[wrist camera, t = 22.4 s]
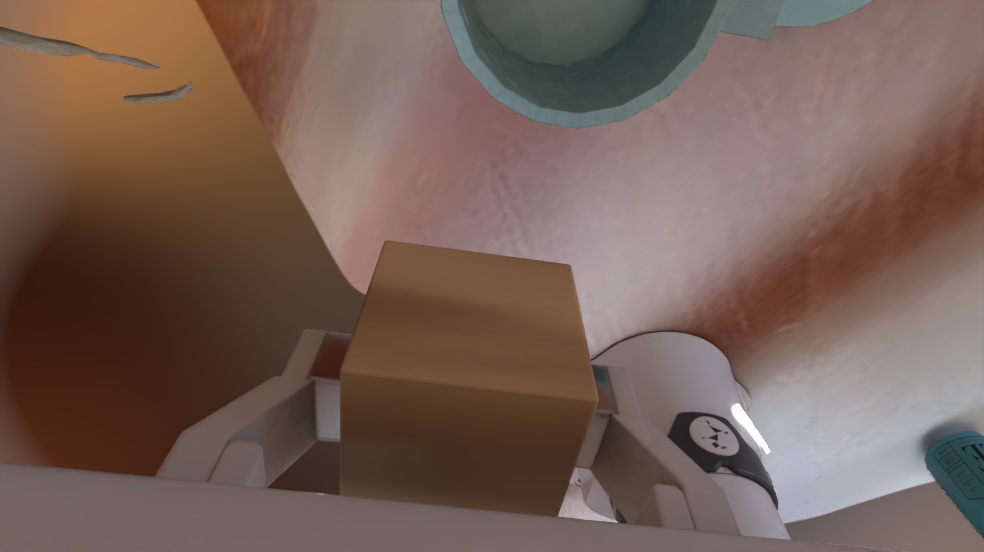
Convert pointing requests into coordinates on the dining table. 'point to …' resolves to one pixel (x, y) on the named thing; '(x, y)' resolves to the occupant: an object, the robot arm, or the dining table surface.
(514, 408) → the block
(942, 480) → the beverage bottle
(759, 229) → the dining table surface
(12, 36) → the lamp
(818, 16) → the pot lid
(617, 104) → the pot
